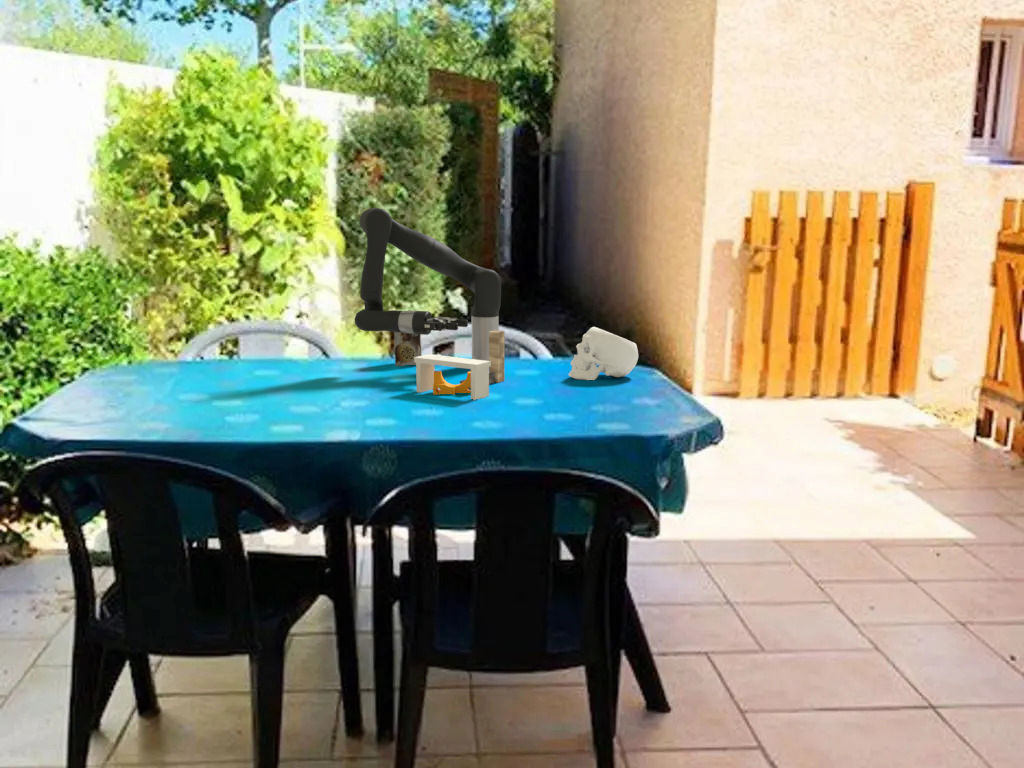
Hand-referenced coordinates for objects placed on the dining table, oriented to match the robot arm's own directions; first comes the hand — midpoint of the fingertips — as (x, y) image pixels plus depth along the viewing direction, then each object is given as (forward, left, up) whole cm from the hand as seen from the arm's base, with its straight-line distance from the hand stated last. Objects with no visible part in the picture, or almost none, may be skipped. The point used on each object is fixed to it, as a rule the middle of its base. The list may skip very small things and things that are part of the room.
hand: (462, 325), depth 322 cm
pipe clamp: (+19, +11, -18) cm, 28 cm away
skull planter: (-28, +36, -18) cm, 49 cm away
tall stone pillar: (+5, +11, -17) cm, 21 cm away
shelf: (+20, +11, -17) cm, 29 cm away
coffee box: (-12, -32, -18) cm, 39 cm away
